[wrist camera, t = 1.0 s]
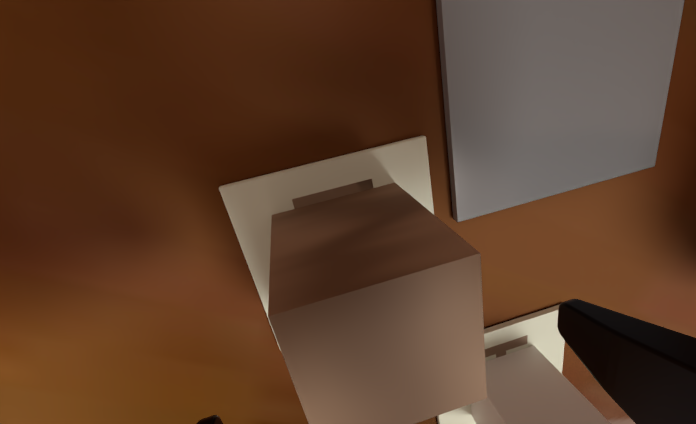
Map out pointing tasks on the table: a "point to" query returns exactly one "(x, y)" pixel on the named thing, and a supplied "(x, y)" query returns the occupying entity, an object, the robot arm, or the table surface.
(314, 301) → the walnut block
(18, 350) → the table surface
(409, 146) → the cream glyph tile
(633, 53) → the slate coaster
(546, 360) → the beige block
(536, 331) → the code tile
